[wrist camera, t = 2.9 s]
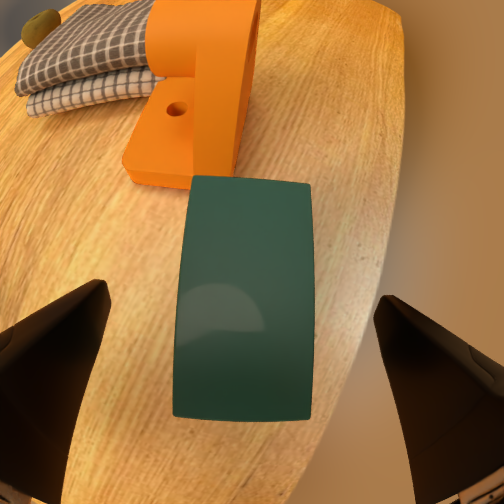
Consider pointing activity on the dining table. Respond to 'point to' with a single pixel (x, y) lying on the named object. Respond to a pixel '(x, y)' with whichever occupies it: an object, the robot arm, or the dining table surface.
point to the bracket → (194, 91)
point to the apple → (40, 27)
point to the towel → (89, 60)
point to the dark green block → (245, 302)
